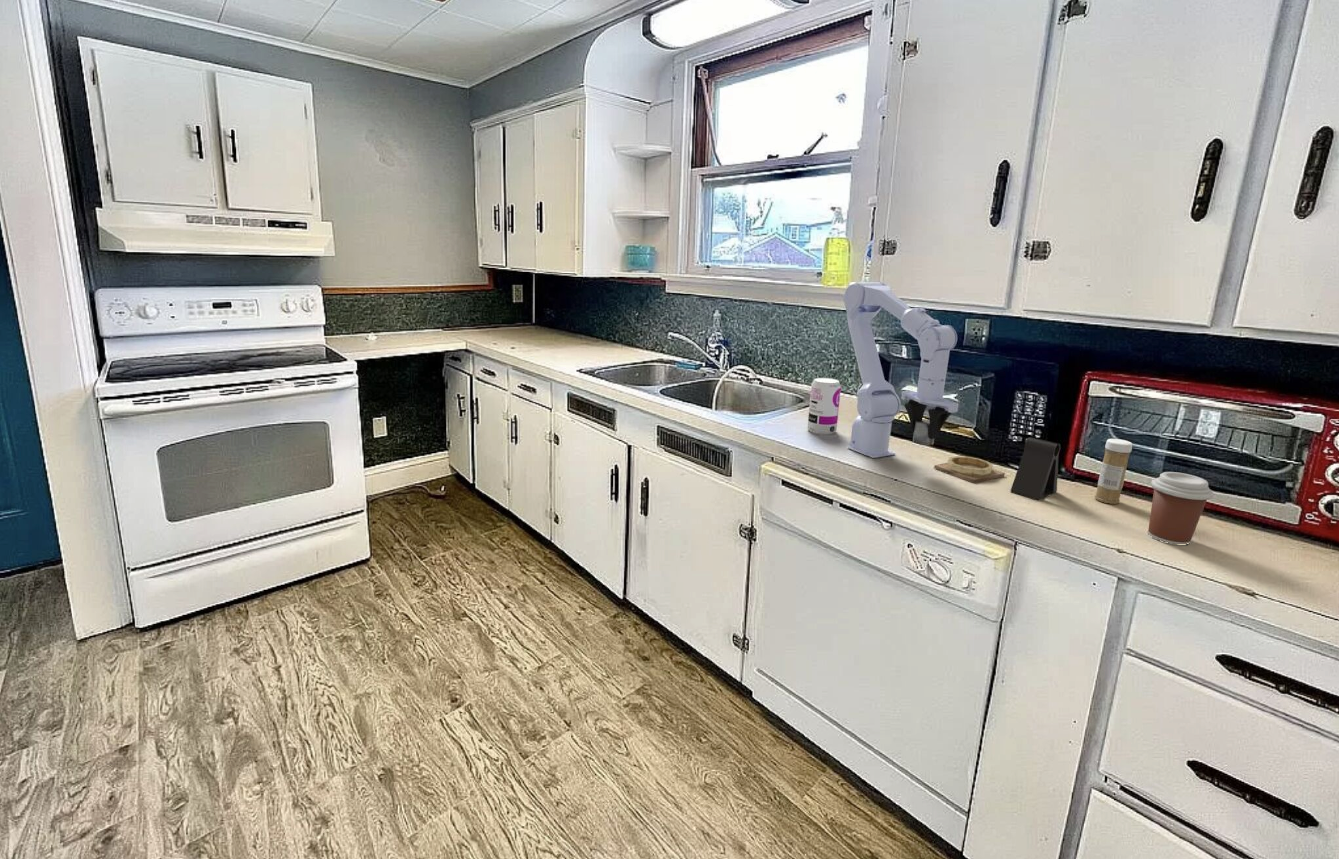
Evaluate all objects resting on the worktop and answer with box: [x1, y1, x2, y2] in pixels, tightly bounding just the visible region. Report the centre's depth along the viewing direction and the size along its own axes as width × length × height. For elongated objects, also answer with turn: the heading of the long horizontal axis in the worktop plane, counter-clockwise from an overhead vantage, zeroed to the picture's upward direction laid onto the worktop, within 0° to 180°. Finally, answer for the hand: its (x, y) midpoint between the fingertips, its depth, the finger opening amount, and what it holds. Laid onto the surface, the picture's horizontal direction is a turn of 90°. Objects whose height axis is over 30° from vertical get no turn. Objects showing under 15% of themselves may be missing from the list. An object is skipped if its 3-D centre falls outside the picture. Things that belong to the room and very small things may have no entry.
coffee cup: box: [1147, 471, 1214, 545], centre depth 119 cm, size 9×9×12 cm
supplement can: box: [807, 377, 842, 436], centre depth 183 cm, size 8×8×15 cm
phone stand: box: [1009, 436, 1061, 501], centre depth 140 cm, size 9×6×12 cm, turn 127°
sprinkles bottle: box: [1094, 438, 1134, 505], centre depth 136 cm, size 5×5×13 cm
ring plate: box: [933, 455, 1006, 484], centre depth 153 cm, size 11×11×2 cm
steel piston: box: [912, 418, 935, 446], centre depth 151 cm, size 5×5×5 cm
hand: (924, 435), depth 151 cm, fingers closed on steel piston, 5 cm apart
